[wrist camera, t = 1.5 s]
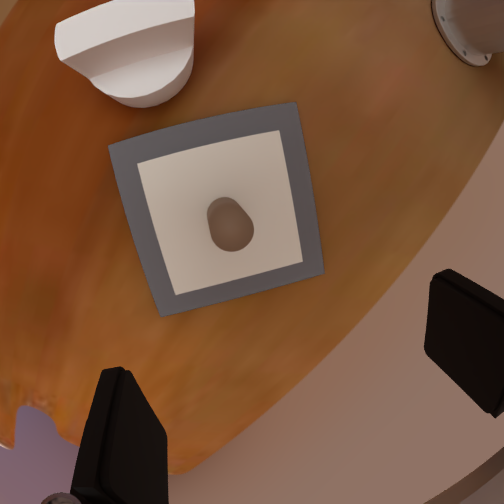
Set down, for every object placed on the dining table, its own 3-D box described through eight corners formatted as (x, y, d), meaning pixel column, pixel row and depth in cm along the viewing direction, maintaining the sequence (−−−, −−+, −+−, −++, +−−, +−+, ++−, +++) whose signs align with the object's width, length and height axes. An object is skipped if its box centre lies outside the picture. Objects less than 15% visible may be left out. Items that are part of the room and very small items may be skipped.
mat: (292, 103, 28) (296, 101, 27) (321, 270, 34) (324, 273, 34) (110, 145, 26) (107, 145, 26) (161, 312, 33) (160, 317, 32)
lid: (276, 130, 28) (300, 125, 21) (299, 258, 32) (325, 285, 26) (138, 163, 27) (122, 167, 20) (176, 290, 31) (172, 327, 25)
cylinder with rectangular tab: (111, 120, 26) (63, 104, 15) (95, 41, 23) (51, -7, 11) (202, 93, 27) (208, 57, 15) (183, 14, 24) (181, -50, 12)
